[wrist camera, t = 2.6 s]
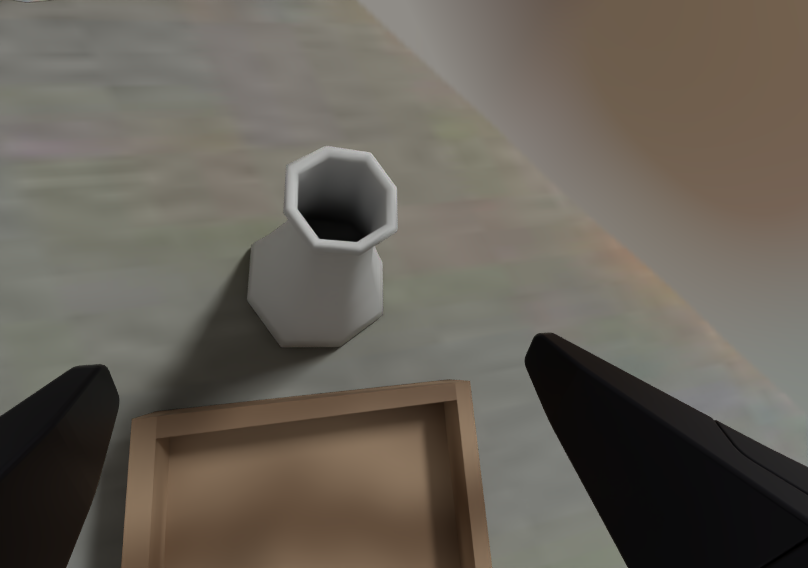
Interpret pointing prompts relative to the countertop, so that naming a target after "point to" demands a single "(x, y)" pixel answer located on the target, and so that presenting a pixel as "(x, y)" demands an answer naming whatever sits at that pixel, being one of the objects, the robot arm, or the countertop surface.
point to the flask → (325, 250)
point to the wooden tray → (310, 482)
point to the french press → (30, 0)
